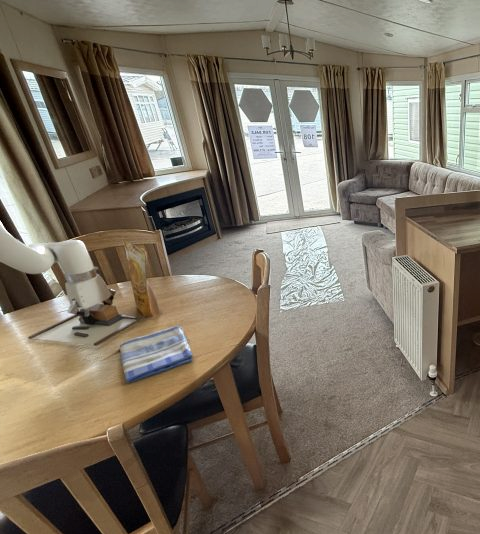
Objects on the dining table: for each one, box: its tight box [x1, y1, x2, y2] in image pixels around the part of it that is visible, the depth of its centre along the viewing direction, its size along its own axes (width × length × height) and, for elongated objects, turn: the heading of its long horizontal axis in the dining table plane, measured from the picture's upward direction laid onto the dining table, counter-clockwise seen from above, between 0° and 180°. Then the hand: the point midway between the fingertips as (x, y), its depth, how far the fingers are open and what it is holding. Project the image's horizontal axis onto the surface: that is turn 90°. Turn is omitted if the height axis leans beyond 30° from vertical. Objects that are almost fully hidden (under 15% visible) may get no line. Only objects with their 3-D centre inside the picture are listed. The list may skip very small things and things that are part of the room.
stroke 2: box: [74, 332, 89, 338], centre depth 117 cm, size 5×1×1 cm, turn 77°
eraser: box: [76, 303, 123, 326], centre depth 124 cm, size 12×5×6 cm, turn 83°
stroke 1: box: [72, 326, 89, 330], centre depth 120 cm, size 5×1×1 cm, turn 91°
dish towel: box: [119, 325, 194, 384], centre depth 110 cm, size 17×24×3 cm
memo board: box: [27, 314, 144, 347], centre depth 121 cm, size 26×17×2 cm, turn 83°
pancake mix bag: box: [121, 239, 160, 317], centre depth 129 cm, size 7×19×28 cm, turn 51°
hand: (100, 318), depth 125 cm, fingers open, 6 cm apart
